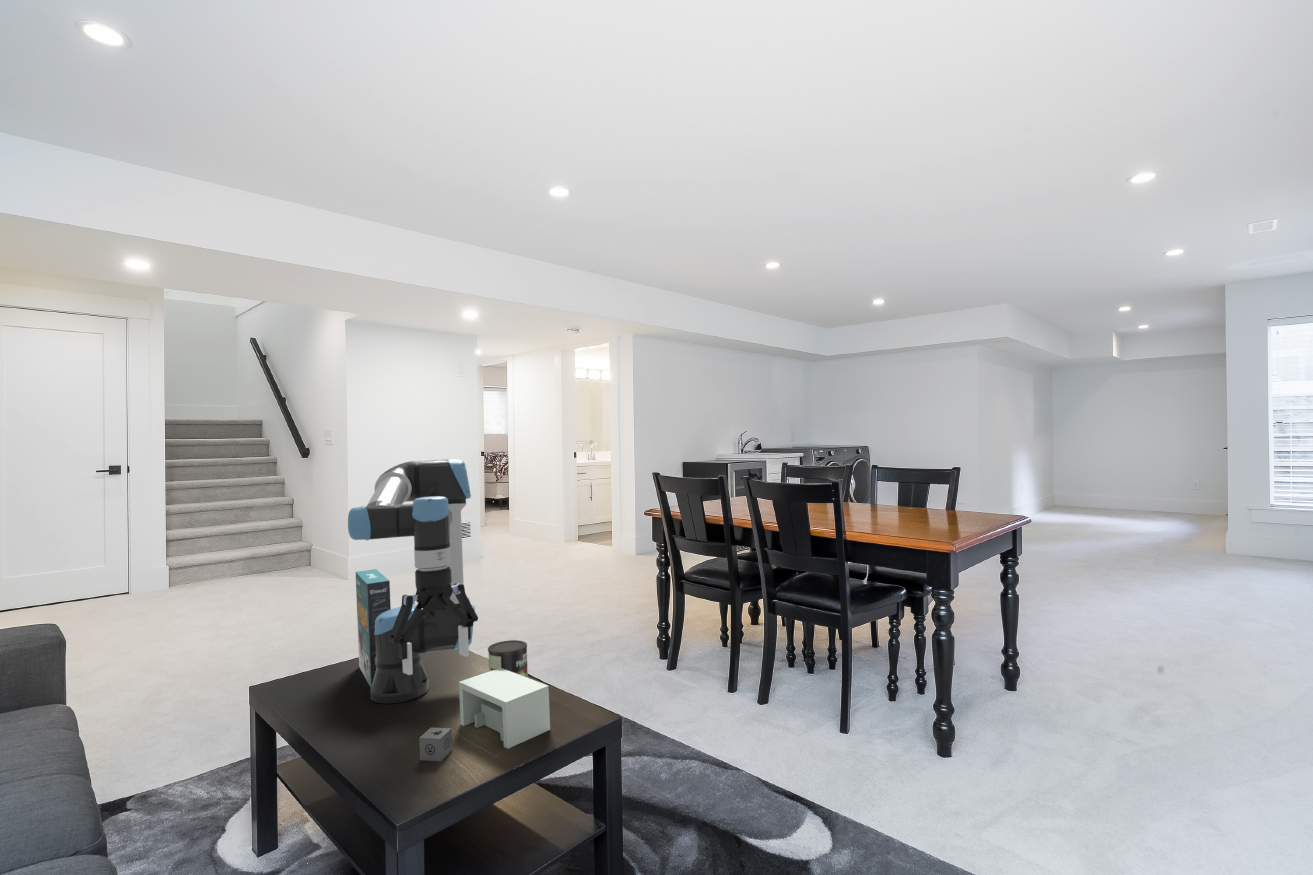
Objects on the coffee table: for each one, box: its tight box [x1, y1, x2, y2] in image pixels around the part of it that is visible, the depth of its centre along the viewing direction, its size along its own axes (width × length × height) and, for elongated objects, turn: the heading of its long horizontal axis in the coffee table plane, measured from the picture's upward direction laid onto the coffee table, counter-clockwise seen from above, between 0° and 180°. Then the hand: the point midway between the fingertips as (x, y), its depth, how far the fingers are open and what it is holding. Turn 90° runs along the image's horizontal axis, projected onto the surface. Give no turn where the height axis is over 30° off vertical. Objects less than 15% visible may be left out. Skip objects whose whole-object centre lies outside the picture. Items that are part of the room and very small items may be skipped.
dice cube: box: [418, 727, 453, 762], centre depth 144 cm, size 5×5×5 cm
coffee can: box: [487, 639, 529, 678], centre depth 174 cm, size 10×10×14 cm
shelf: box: [458, 668, 551, 750], centre depth 157 cm, size 20×12×10 cm, turn 47°
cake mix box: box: [355, 568, 392, 688], centre depth 196 cm, size 22×6×30 cm, turn 33°
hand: (436, 664), depth 142 cm, fingers open, 13 cm apart
